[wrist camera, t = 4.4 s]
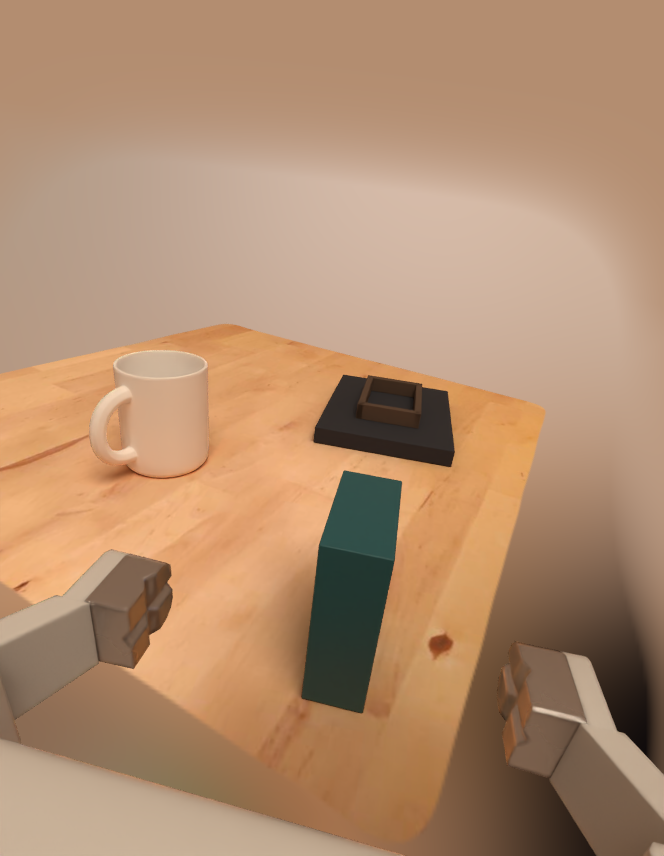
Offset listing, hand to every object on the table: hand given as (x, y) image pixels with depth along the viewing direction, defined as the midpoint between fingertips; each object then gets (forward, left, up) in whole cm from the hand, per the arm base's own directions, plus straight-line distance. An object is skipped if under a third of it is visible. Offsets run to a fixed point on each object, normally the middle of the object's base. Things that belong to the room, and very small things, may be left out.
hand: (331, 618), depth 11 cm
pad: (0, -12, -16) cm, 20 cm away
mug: (+22, -28, -16) cm, 39 cm away
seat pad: (0, -49, -16) cm, 52 cm away
